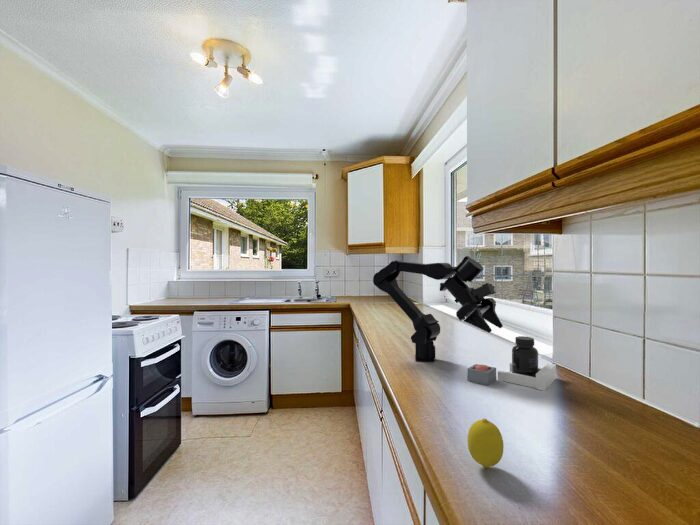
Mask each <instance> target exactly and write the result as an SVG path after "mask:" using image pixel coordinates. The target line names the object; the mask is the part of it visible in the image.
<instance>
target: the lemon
mask: <svg viewBox="0 0 700 525" xmlns="http://www.w3.org/2000/svg"><path fill="white" fill-rule="evenodd" d="M467 449H468V452H469V454H470V456H471V458H472V459H473V460H474V461H475V462H477V463H478V464H479V465H480V466H482V467H483V468H484V469H488V468H489V467H494V466H497V465H498V464H499V463H500V462H501V460H502V458H503V455H504V440H503V436H502V433H501V431H500V429H499V428H498V426H497V425H496V424H494V423H493V422H492V421H489V420H488V419H487V418H485V417H483V418H482V419H479V420H476V421H475V422H473V423H472V424H471V425H470V427H469V428H468V433H467Z"/></svg>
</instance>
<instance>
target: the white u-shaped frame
mask: <svg viewBox="0 0 700 525" xmlns="http://www.w3.org/2000/svg"><path fill="white" fill-rule="evenodd" d="M556 379H557V364H554V363H547V364H546V365H545V366H543V367H539V366H538V372H537V373H536V377H532V376H526V375H521V374H516V373H512V362H510V363H509V371H505V370H498V371H497V381H501V382H507V383H511V384H515V385H516V384H517V385H520V386H524V387H529V388H535V389H536V390H540V391H546V390H547V389H549V388H548V387H550V385H551V384H552V383H553V382H554V381H555V380H556Z"/></svg>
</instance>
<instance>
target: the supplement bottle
mask: <svg viewBox="0 0 700 525" xmlns="http://www.w3.org/2000/svg"><path fill="white" fill-rule="evenodd" d="M514 344H515V345H514V346H513V347H512V348H511V363H512V372H511V373H516V374H521V375H526V376H532V377H536V373H537V372H538V367H539V351H538V349H537V348H536V347H534V346H535V338H534V337H530V336H521V335H520V336H516V337H515V343H514Z"/></svg>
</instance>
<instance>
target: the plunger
mask: <svg viewBox="0 0 700 525" xmlns="http://www.w3.org/2000/svg"><path fill="white" fill-rule="evenodd" d="M478 364H479V363H478ZM474 365H475V364H474ZM475 369H476V370H481V371H488V365H486V364H479V365H475Z"/></svg>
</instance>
